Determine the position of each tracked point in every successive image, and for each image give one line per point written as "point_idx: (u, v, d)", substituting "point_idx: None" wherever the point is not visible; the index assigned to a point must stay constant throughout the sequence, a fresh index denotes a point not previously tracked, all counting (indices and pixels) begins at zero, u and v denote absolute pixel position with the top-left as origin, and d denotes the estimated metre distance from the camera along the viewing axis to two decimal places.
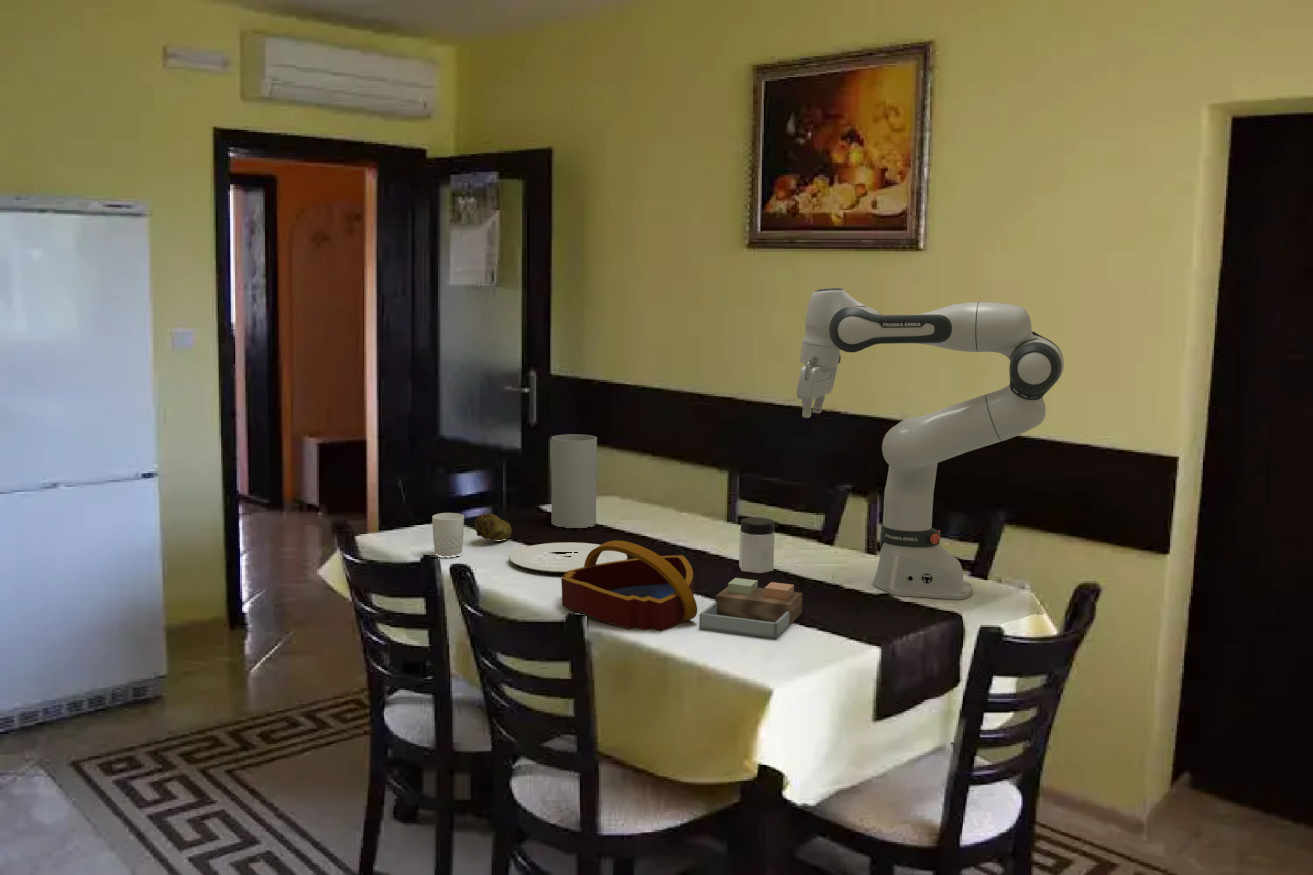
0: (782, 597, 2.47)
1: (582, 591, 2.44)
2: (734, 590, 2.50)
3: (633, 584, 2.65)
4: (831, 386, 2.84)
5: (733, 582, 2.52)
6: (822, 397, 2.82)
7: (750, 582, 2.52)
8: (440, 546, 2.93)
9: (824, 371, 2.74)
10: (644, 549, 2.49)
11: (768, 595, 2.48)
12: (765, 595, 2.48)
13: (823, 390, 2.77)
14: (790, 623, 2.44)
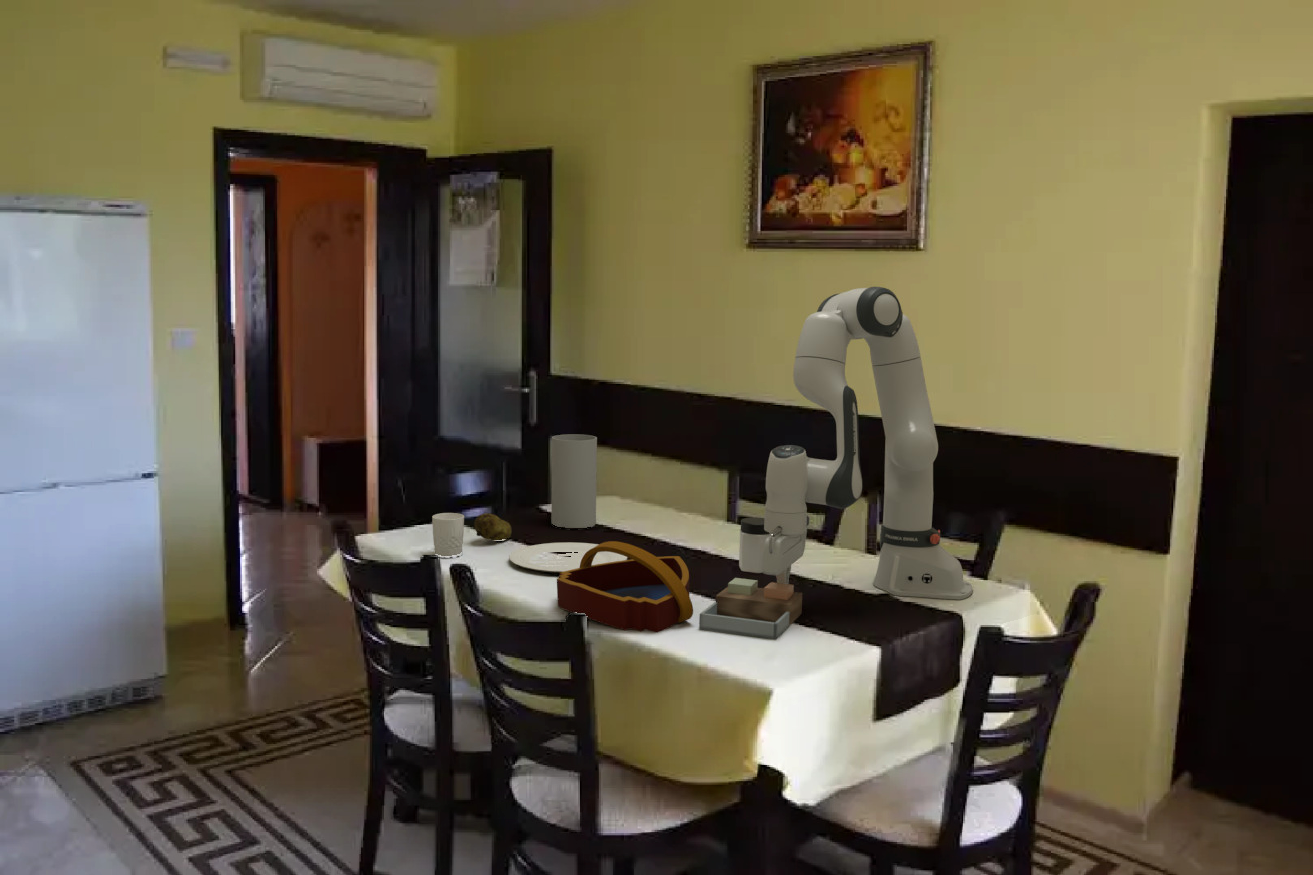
0: (782, 597, 2.46)
1: (577, 592, 2.43)
2: (734, 590, 2.50)
3: (629, 585, 2.64)
4: (802, 549, 2.59)
5: (733, 582, 2.52)
6: (788, 567, 2.53)
7: (750, 582, 2.52)
8: (440, 546, 2.93)
9: (791, 539, 2.49)
10: (640, 550, 2.48)
11: (768, 595, 2.48)
12: (765, 595, 2.48)
13: (793, 558, 2.52)
14: (790, 623, 2.44)
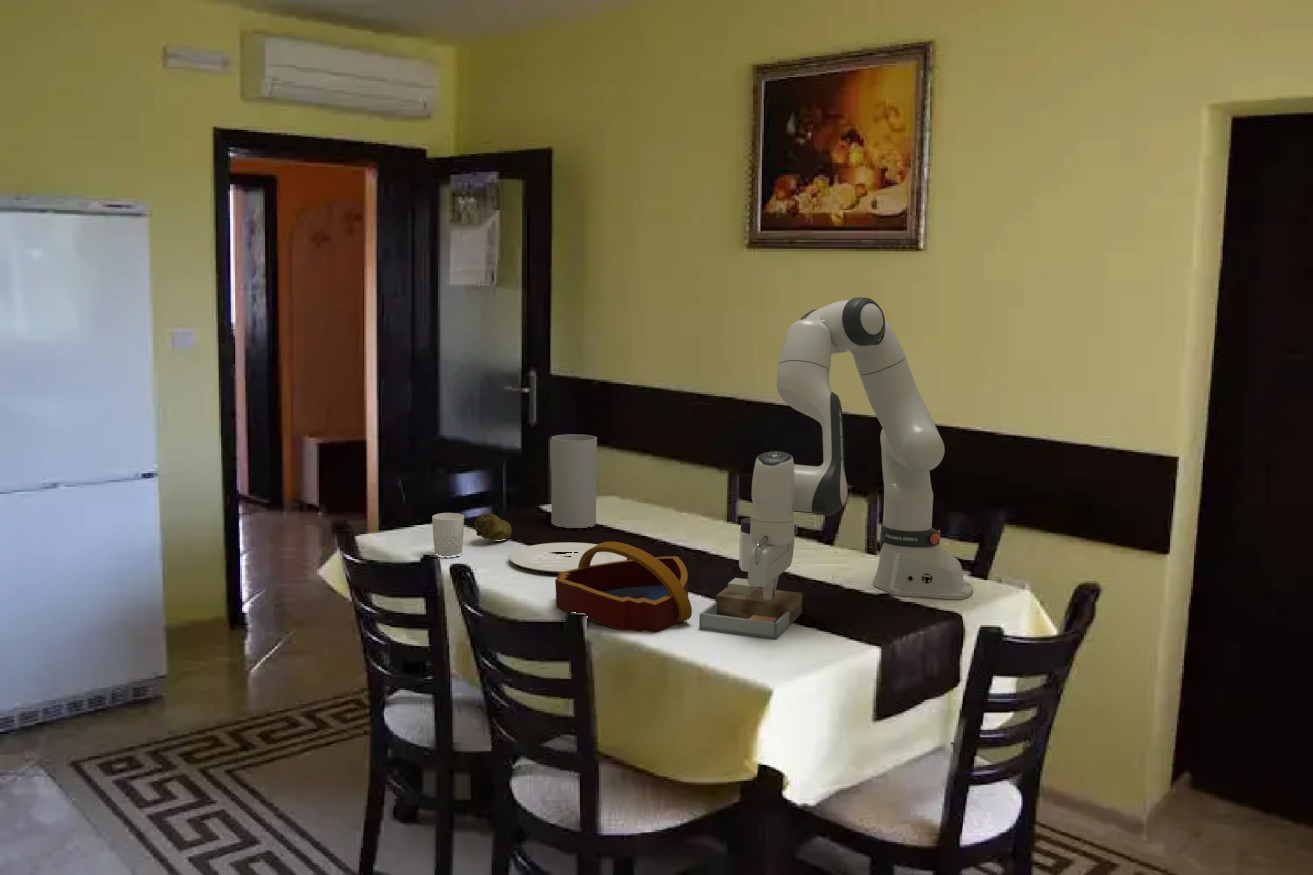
0: None
1: (576, 592, 2.43)
2: (734, 590, 2.50)
3: (627, 585, 2.64)
4: (790, 559, 2.50)
5: (733, 582, 2.52)
6: (775, 578, 2.44)
7: None
8: (440, 546, 2.93)
9: (778, 549, 2.39)
10: (638, 550, 2.47)
11: None
12: None
13: (780, 569, 2.43)
14: (790, 623, 2.44)
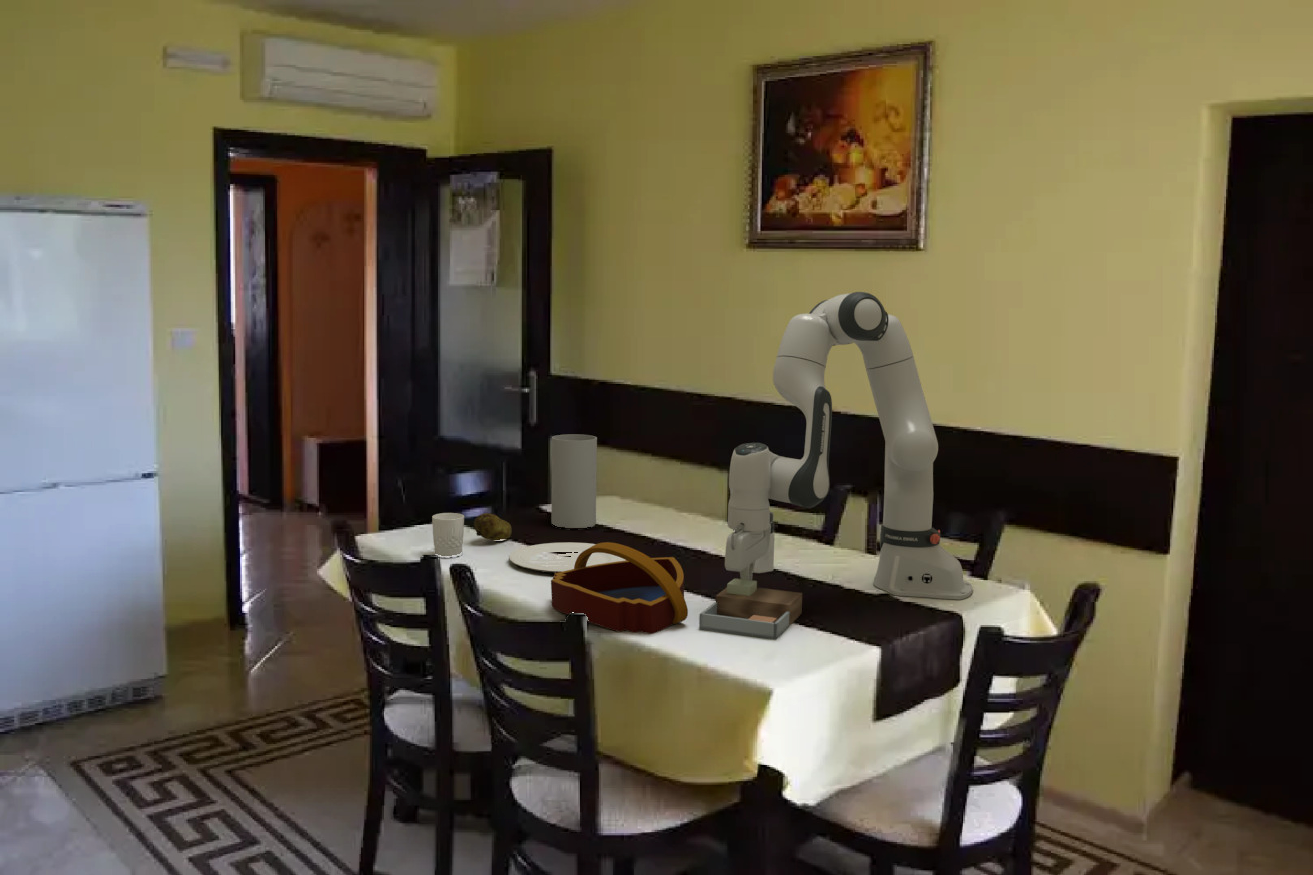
0: None
1: (572, 593, 2.42)
2: (733, 591, 2.50)
3: (623, 586, 2.63)
4: (766, 546, 2.61)
5: (732, 583, 2.51)
6: (752, 564, 2.56)
7: (749, 583, 2.51)
8: (440, 546, 2.93)
9: (754, 536, 2.51)
10: (634, 551, 2.47)
11: None
12: None
13: (756, 554, 2.55)
14: (790, 623, 2.44)
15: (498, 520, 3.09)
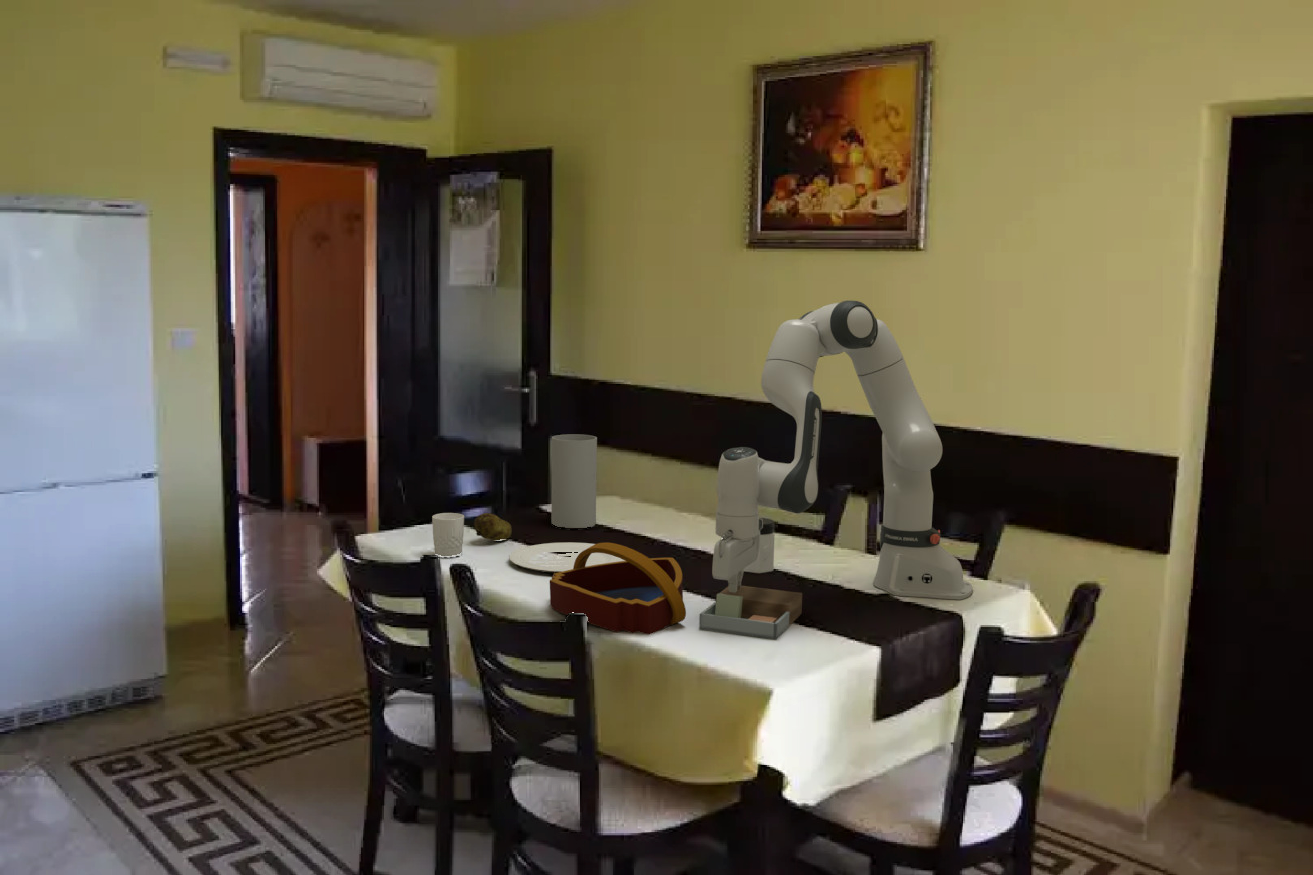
0: None
1: (570, 594, 2.42)
2: None
3: (622, 586, 2.63)
4: (756, 553, 2.54)
5: (718, 612, 2.44)
6: (740, 572, 2.49)
7: (734, 606, 2.43)
8: (440, 546, 2.93)
9: (742, 543, 2.44)
10: (633, 551, 2.46)
11: None
12: None
13: (745, 562, 2.48)
14: (790, 623, 2.44)
15: (498, 520, 3.09)
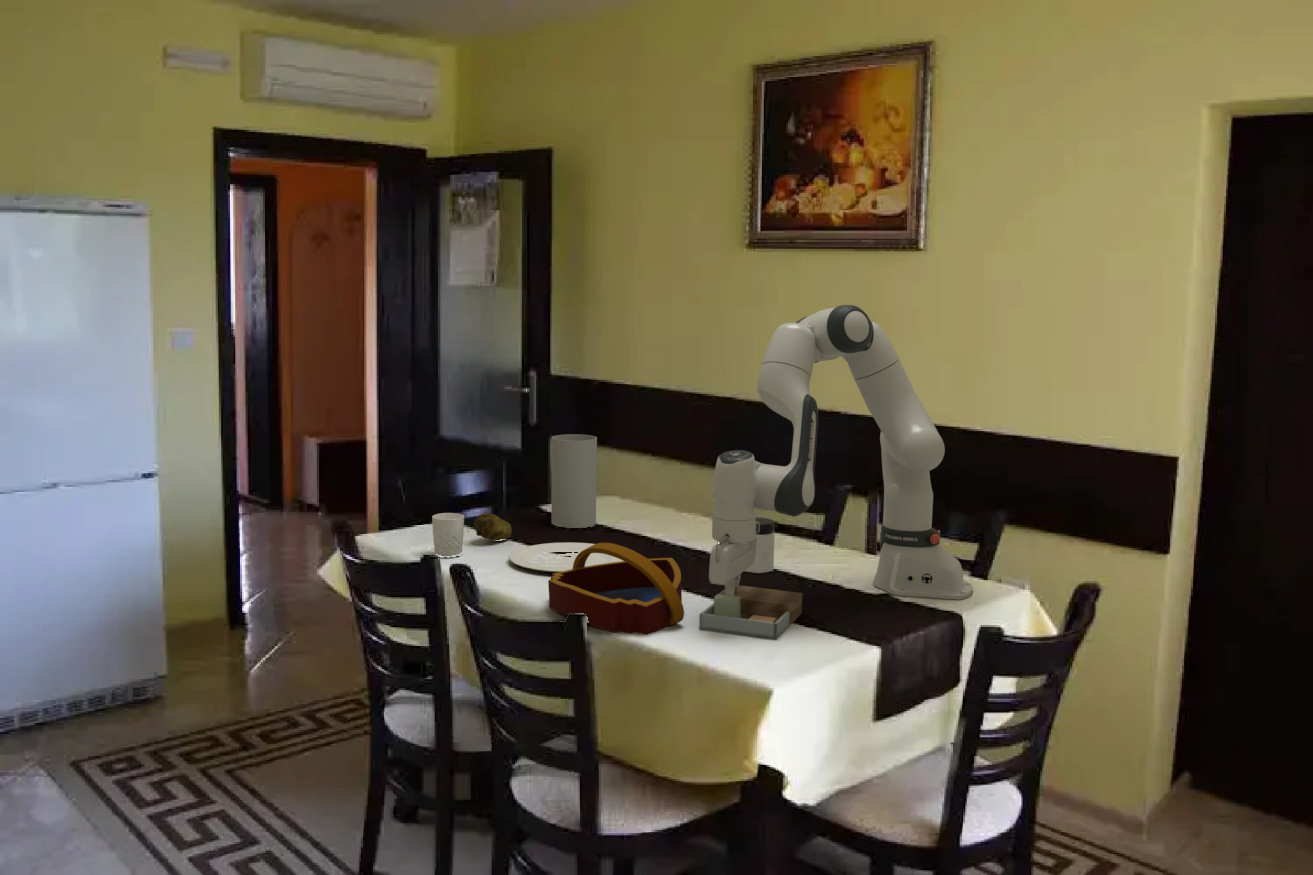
0: None
1: (568, 594, 2.42)
2: None
3: (622, 587, 2.62)
4: (753, 557, 2.51)
5: None
6: (737, 576, 2.46)
7: (733, 610, 2.42)
8: (440, 546, 2.93)
9: (739, 547, 2.41)
10: (631, 551, 2.46)
11: None
12: None
13: (742, 566, 2.45)
14: (790, 623, 2.44)
15: (498, 520, 3.09)
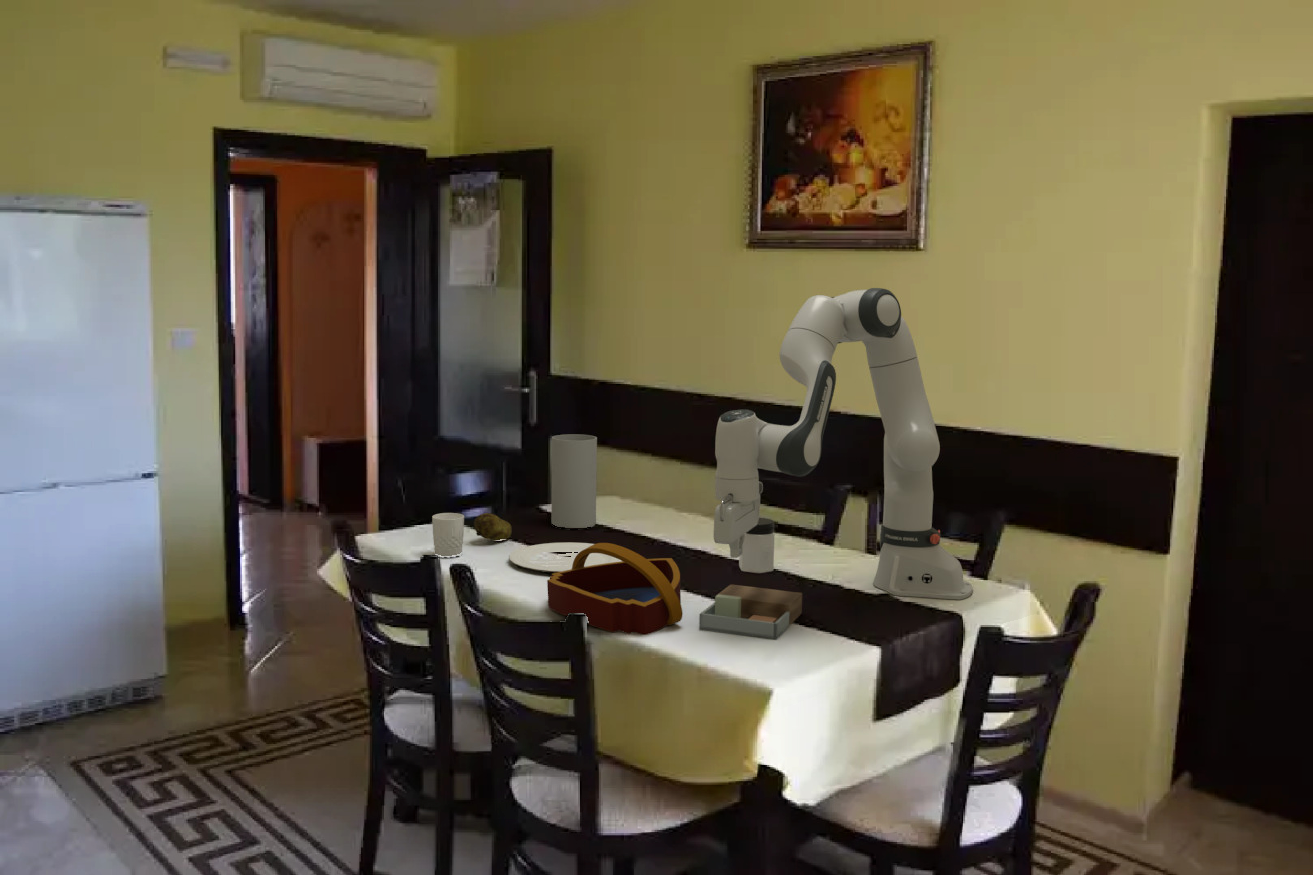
0: None
1: (566, 594, 2.42)
2: None
3: (621, 587, 2.62)
4: (756, 518, 2.50)
5: None
6: (741, 537, 2.44)
7: (733, 609, 2.43)
8: (440, 546, 2.93)
9: (743, 506, 2.39)
10: (630, 552, 2.46)
11: None
12: None
13: (746, 526, 2.43)
14: (790, 623, 2.44)
15: (498, 520, 3.09)
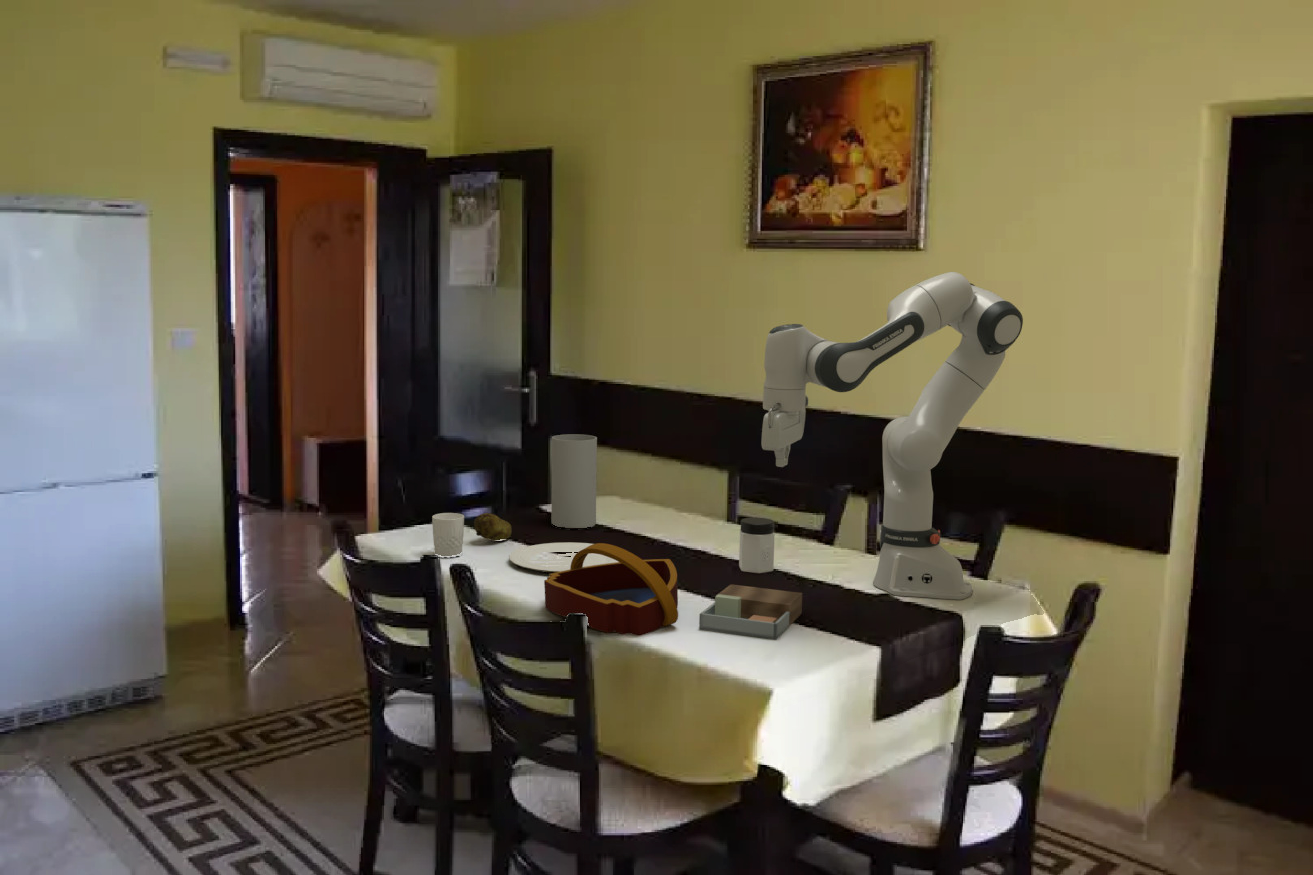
0: None
1: (562, 594, 2.42)
2: None
3: (619, 587, 2.62)
4: (801, 432, 2.58)
5: None
6: (787, 447, 2.52)
7: (733, 609, 2.43)
8: (440, 546, 2.93)
9: (790, 417, 2.47)
10: (626, 552, 2.45)
11: None
12: None
13: (792, 437, 2.51)
14: (790, 623, 2.44)
15: (498, 520, 3.09)
